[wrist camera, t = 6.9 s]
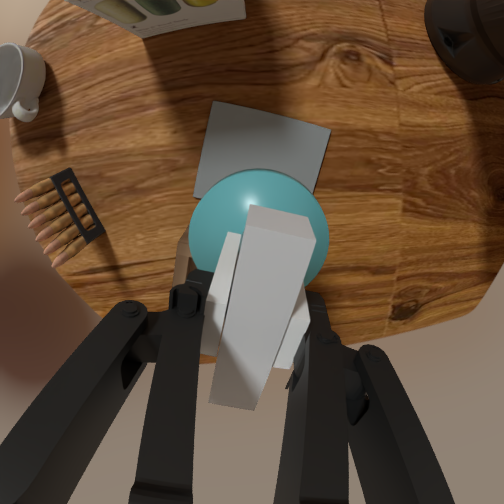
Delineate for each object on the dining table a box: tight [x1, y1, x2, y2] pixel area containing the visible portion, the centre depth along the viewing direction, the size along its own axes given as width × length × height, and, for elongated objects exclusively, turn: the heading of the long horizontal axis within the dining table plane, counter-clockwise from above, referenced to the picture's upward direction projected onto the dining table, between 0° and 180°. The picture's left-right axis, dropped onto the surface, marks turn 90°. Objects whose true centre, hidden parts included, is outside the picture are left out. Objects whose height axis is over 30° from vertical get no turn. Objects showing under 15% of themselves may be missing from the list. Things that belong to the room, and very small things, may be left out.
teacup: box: [0, 43, 46, 122], centre depth 26 cm, size 14×11×8 cm
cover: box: [188, 168, 329, 411], centre depth 16 cm, size 9×9×11 cm
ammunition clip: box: [14, 168, 105, 268], centre depth 32 cm, size 11×2×12 cm, turn 25°
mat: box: [193, 101, 331, 199], centre depth 35 cm, size 14×12×1 cm
